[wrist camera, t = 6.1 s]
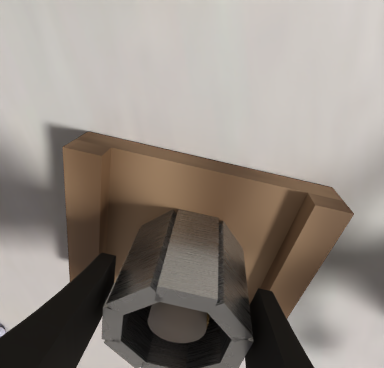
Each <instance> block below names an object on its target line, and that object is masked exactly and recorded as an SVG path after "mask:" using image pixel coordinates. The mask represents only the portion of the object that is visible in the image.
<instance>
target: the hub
mask: <svg viewBox="0 0 384 368" xmlns="http://www.w3.org/2000/svg"><path fill="white" fill-rule="evenodd" d="M158 302H162V303H167V304H171V305H176V306H180V307H184V308H189V309H193V310H198V311H202V312H207V313H208V314H209V324H208V326H207V329H206V332H205V334H204V336H203V337H202V338H200V339H199V340H196V341H194V342H190V343H175V342H171V341H167V340H165V339H162V338H160V337H159V336H157V335H156V334H155V333H153V332H152V330H151V329H150V327H149V325H148V317H149V313H150V309H151V306H152V304H155V303H158ZM102 339H104V340H105V342H104V343H105V344H106V345H107V346H109V347H110V348H111V349H112V350H113V351H115V352H116V353H117V354H118V355H120V356H121V357H122V358H123V359H125V360H126V361H127V362H128V363H129V364H131V365H132V366H133V367H134V368H139V367H141V368H239V366H240V364H241V363H242V361H243V359H244V357H245V356H246V354H247V352H248V350H249V349H250V347H251V345H252V343H253V342H254V341H253V332H252V324H251V315H250V306H249V297H248V288H247V279H246V270H245V261H244V252H243V248H242V246H241V245H240V244H239V242H238V241H237V239H236V238H235V236H234V235H233V234H232V232H231V231H230V229H229V228H228V227H227V225H226V224H225V222H224V221H221V222H219V218H217V217H213V216H208V215H204V214H199V213H195V212H191V211H186V210H182V209H178V212H177V213H176V212H175V211H174V210H171V211H169V212H167V213H165V214H163V215H161V216H159V217H157V218H155V219H153V220H152V221H150V222H148V223H146V224H144V225H142V226H141V228H140V229H139V231H138V233H137V235H136V237H135V239H134V242H133V244H132V246H131V248H130V250H129V252H128V255H127V257H126V259H125V261H124V263H123V265H122V268H121V270H120V272H119V274H118V276H117V278H116V281H115V283H114V285H113V287H112V289H111V291H110V294H109V296H108V298H107V300H106V302H105V304H104V307H103V320H102Z"/></svg>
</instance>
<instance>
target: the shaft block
mask: <svg viewBox="0 0 384 368" xmlns="http://www.w3.org/2000/svg"><path fill="white" fill-rule="evenodd" d="M63 165H64V183H65V201H66V219H67V238H68V256H69V274H70V282H71V281H72V280H73V279H74V278H75V277H76V276H77V275H79V274H80V273H81V272H82V271H83V270H84V269H85V268H86V267H87V266H88V265H89V264H90V263H91V262H92V261H93V260H94V259H95V258H96V257H97V256H98V255H99V254H100V253H107V254H111V255H115V256H116V265H115V279H114V283H115V281H116V278H117V276H118V274H119V272H120V270H121V268H122V265H123V263H124V261H125V259H126V257H127V255H128V252H129V250H130V248H131V246H132V244H133V242H134V239H135V237H136V235H137V233H138V231H139V229H140V228H141V226H142V225H144V224H146V223H148V222H150V221H152V220H153V219H155V218H157V217H159V216H161V215H163V214H165V213H167V212H169V211H171V210H174V211H175V212H176V213H177V212H178V209H182V210H186V211H191V212H195V213H199V214H204V215H208V216H213V217H217V218H219V222H221V221H224V222H225V224H226V225H227V227H228V228H229V229H230V231H231V232H232V234H233V235H234V236H235V238H236V239H237V241H238V242H239V244H240V245H241V246H242V248H243V252H244V261H245V270H246V279H247V288H248V297H249V305H250V303H251V301H252V299H253V297H254V295H255V293H256V291H257V289H258V288H260V289H265V290H269V291H272V292H273V293H274V295H275V297H276V299H277V301H278V303H279V305H280V307H281V309H282V311H283V313H284V315H285V317H286V319H287V318H288V316H289V315H290V313H291V312H292V310H293V308H294V307H295V305H296V304H297V302H298V301H299V299H300V298H301V296H302V294H303V293H304V291H305V290H306V288H307V287H308V285H309V284H310V282H311V280H312V279H313V277H314V276H315V274H316V273H317V271H318V269H319V268H320V266H321V265H322V263H323V262H324V260H325V259H326V257H327V255H328V254H329V252H330V251H331V249H332V248H333V246H334V245H335V243H336V241H337V240H338V238H339V237H340V235H341V234H342V232H343V231H344V229H345V227H346V226H347V224H348V223H349V221H350V220H351V218H352V216H353V215H354V213H353V212H352V211H351V210H350V208H349V207H348V206H347V205H346V204H345V202H344V201H343V200H342V199H341V197H340V196H339V195H338V194H337V193H336V191H335V190H334V189H333V188H332V187H327V186H323V185H319V184H314V183H310V182H306V181H301V180H297V179H293V178H288V177H284V176H279V175H275V174H271V173H266V172H262V171H258V170H253V169H249V168H245V167H240V166H236V165H232V164H227V163H223V162H219V161H214V160H210V159H206V158H201V157H197V156H193V155H188V154H184V153H180V152H175V151H171V150H167V149H162V148H158V147H154V146H149V145H145V144H141V143H136V142H132V141H128V140H123V139H119V138H115V137H110V136H106V135H102V134H97V133H93V132H87V133H85V134H83V135H82V136H80V137H78V138H77V139H75V140H73V141H72V142H70V143H68V144H67V145H65V146H63ZM208 324H209V314H208V313H207V312H202V311H198V310H193V309H189V308H184V307H180V306H176V305H171V304H167V303H162V302H158V303H155V304H152V306H151V309H150V313H149V317H148V325H149V327H150V329H151V330H152V332H153V333H155V334H156V335H157V336H159V337H160V338H162V339H165V340H167V341H171V342H175V343H190V342H194V341H196V340H199V339H200V338H202V337H203V336H204V334H205V332H206V329H207V326H208Z"/></svg>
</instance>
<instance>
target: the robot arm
mask: <svg viewBox="0 0 384 368" xmlns="http://www.w3.org/2000/svg"><path fill="white" fill-rule="evenodd" d="M115 265H116V256H115V255H111V254H107V253H100V254H99V255H98V256H97V257H96V258H95V259H94V260H93V261H92V262H91V263H90V264H89V265H88V266H87V267H86V268H85V269H84V270H83V271H82V272H81V273H80V274H79V275H77V276H76V277H75V278H74V279H73V280H72V281H71V282H70V283H69V284H67V285H66V286H65V287H64V288H63V289H62V290H61V291H60V292H58V293H57V294H56V295H55V296H54V297H52V298H51V299H50V300H49V301H47V302H46V303H45V304H44V305H42V306H41V307H40V308H39V309H38V310H36V311H35V312H34V313H33V314H31V315H30V316H29V317H27V318H26V319H25V320H23V321H22V322H21V323H19V324H18V325H17V326H15V327H14V328H12V329H11V330H10V331H8V332H7V333H6V332H5V330H4V329H3V328H2V327H0V368H76V367H77V365H78V363H79V361H80V359H81V357H82V355H83V353H84V351H85V349H86V347H87V345H88V343H89V341H90V339H91V338H92V336H93V334H94V332H95V330H96V328H97V326H98V324H99V322H100V320H101V318H102V316H103V307H104V304H105V302H106V300H107V298H108V296H109V294H110V291H111V289H112V287H113V285H114V279H115ZM249 306H250V315H251V324H252V332H253V341H254V342H253V343H252V345H251V347H250V349H249V350H248V352H247V354H246V356H245V362H246V368H314V367H313V365H312V363H311V362H310V360H309V358H308V356H307V355H306V353H305V351H304V350H303V348H302V346H301V344H300V342H299V341H298V339H297V337H296V335H295V333H294V332H293V330H292V328H291V326H290V324H289V322H288V320H287V319H286V317H285V315H284V313H283V311H282V309H281V307H280V305H279V303H278V301H277V299H276V297H275V295H274V293H273V292H272V291H269V290H265V289H260V288H258V289H257V291H256V293H255V295H254V297H253V299H252V301H251V303H250V305H249Z"/></svg>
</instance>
